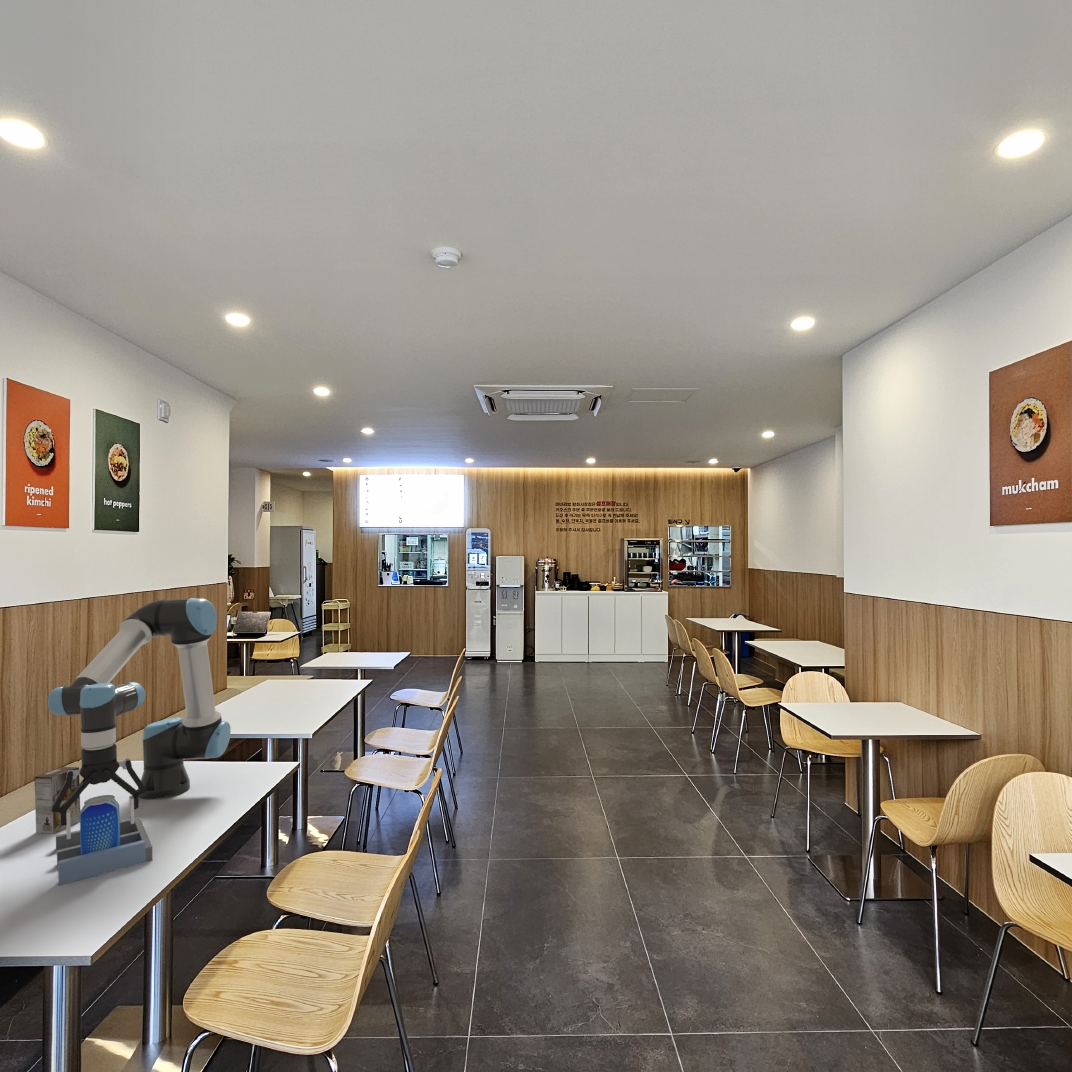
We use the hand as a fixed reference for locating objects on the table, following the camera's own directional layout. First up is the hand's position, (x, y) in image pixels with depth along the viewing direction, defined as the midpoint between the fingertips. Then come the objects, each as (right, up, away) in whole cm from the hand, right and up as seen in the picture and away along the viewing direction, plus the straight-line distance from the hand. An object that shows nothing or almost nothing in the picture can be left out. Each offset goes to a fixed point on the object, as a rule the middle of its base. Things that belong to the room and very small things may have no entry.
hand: (101, 829), depth 172 cm
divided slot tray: (-3, -9, +4) cm, 10 cm away
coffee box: (-28, -10, +25) cm, 39 cm away
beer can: (0, -8, 0) cm, 9 cm away
